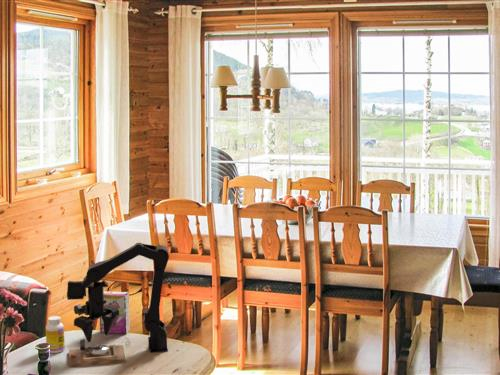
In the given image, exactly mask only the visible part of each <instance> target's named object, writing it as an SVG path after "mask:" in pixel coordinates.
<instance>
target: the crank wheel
mask: <svg viewBox="0 0 500 375" xmlns="http://www.w3.org/2000/svg"><path fill="white" fill-rule="evenodd" d="M79 349H80V351H83V350H90V356H91V357H102V356H108V355H109V345H107V344H95V345H92V346H86V340H85V339H79Z"/></svg>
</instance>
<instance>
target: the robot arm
mask: <svg viewBox="0 0 500 375" xmlns="http://www.w3.org/2000/svg"><path fill="white" fill-rule="evenodd" d="M169 254H170V252H169V248H167V247H166V246H164V245H152V244H146V243H142V242H136V243H135V244H134V245H132V246H129V248H127V249H124V250H123V251H121V252H120V253H118V254H116V255H114V256H112V257H110V258H108V259H105V260H102V261H98V262H95V263H93V264H91V265H89V266H88V268H87V272H86V275H85V277H84V278H83V280H80V281H79V280H78V281H74V280H69V281H67V290H66V298H67V301H72V300H73V301H75V300H84V299H85V297H87V301H85V304H82V305H81V304H76V305H73V311H74V314H75V315H78V316H77V317H75V318H74V319H73V326H74V327H77V328H79V329H81V331H82V332H83V334H84V337H85V339H86V341H87V343H91V341H92V337H93V330H94V325H93V323H94V321H96V320H98V319H99V320H100V318H102V319H103V323H104V333H103V334H104V336H108V335H109V334H110V333H109V331H110V328H111V326H112V324H113V322H114V320H115V318H117V315H119V310H118V308H117V307H112V306H106V307H104V304H105V303H106V300H104V291H105V290H104V288H108V287H109V282H107V281H106V280H105V278H104V277H106V276H107V275H108V274H109V273H111V272H112V271H113V270H114V269H116V268H118V267H121V266H122V265H123V264H125V263H128V262H129V261H131V260H133V259H135V258H136V257H139V256H141V257H144V258H145V259H149V260H152V261H153V277H152V283H151V284H152V286H151V292H150V300H149V306H148V308H144V311H143V312H144V316H143V319H142V320H143V321H142V324H143V325H144V329H145V330H146V331H147V332H149V336H148V337H147V342H148V343H147V345H148V350H150V351H149V352H150V353H159V352H168V351H169V350H168V333H167V328H166V323H165V322H163V321H162V320H161V315H160V306H161V305H160V304H161V298H162V297H161V296H162V289H163V283H164V282H163V281H164V273H165V270H166V268H167V264H168V261H169V259H170V255H169Z"/></svg>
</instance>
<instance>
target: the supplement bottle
mask: <svg viewBox="0 0 500 375" xmlns="http://www.w3.org/2000/svg"><path fill="white" fill-rule="evenodd" d="M61 321H62V318H61V316H60V315H59V316H58V315H57V316H56V315H53V316H49V317H48V318H47V324H46V326H45V342H46V343H49V344H50V353H49V354H58V353H62V352H63V351H65V346H66V345H65V327H64V324H63V323H62V322H61Z"/></svg>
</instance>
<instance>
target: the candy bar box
mask: <svg viewBox="0 0 500 375" xmlns="http://www.w3.org/2000/svg"><path fill="white" fill-rule="evenodd" d="M103 291H104V300H106V303H105V304H104V307H106V306H112V307H117V308H118V310H119V315H117V318H115V320H114V322H113V324H112V326H111V328H110V331H109V333H108V334H114V335H115V334H117V335H127V334H128V333H129V332H130V326H131V324H130V292H128V291H109V290H107V291H106V290H103ZM99 332H100V334H105V333H104V323H103V319H102V318H99ZM122 333H124V334H122Z"/></svg>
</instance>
